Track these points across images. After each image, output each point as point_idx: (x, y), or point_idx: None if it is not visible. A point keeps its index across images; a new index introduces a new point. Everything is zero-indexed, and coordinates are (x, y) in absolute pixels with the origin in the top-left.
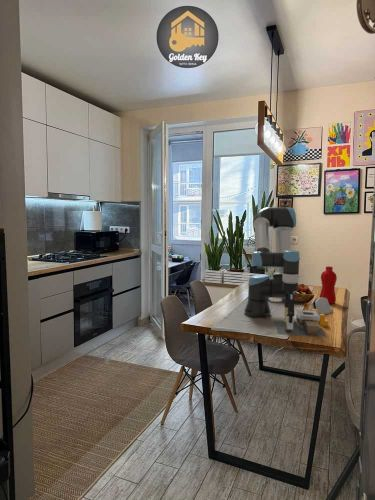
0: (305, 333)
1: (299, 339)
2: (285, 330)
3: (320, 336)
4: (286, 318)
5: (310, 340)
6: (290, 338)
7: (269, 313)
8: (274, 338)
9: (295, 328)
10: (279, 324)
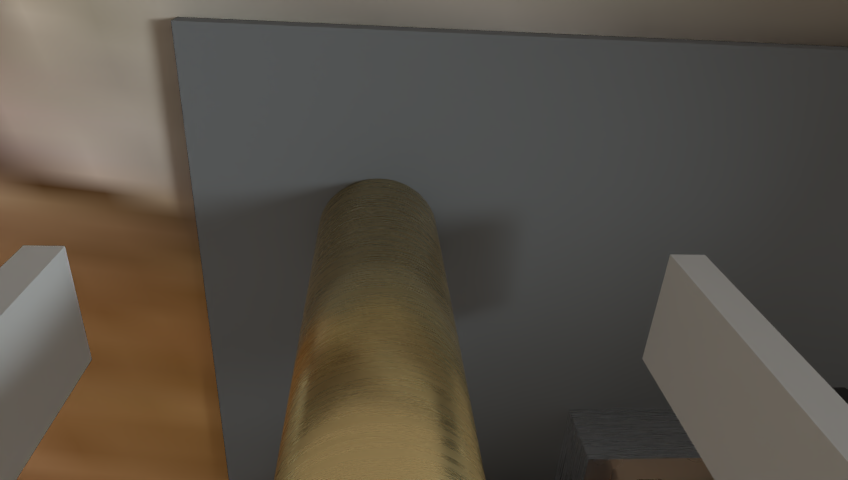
0: None
1: None
2: (353, 195)
3: None
4: (318, 373)
5: (86, 474)
6: (50, 223)
7: None
8: None
9: (588, 367)
10: (845, 128)
